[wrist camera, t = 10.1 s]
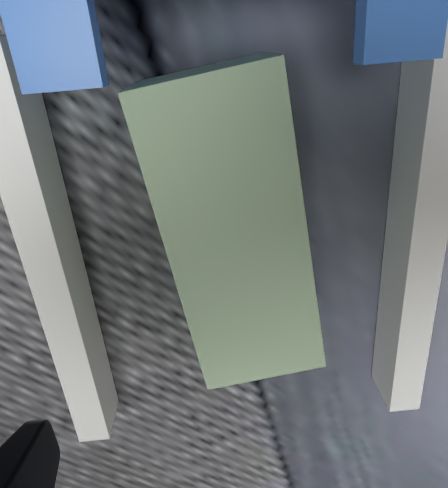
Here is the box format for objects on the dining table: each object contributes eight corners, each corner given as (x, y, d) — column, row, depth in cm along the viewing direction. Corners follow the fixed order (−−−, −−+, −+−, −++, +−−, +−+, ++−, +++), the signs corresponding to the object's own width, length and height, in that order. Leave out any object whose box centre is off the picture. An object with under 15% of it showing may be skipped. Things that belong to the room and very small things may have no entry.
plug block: (302, 305, 22) (326, 366, 17) (206, 324, 22) (207, 389, 18) (263, 51, 16) (283, 54, 12) (137, 80, 17) (117, 92, 13)
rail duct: (398, 373, 23) (464, 484, 18) (-194, 430, 23) (-329, 563, 17) (460, -101, 14) (640, -200, 9) (-515, -22, 14) (-1032, -67, 8)
